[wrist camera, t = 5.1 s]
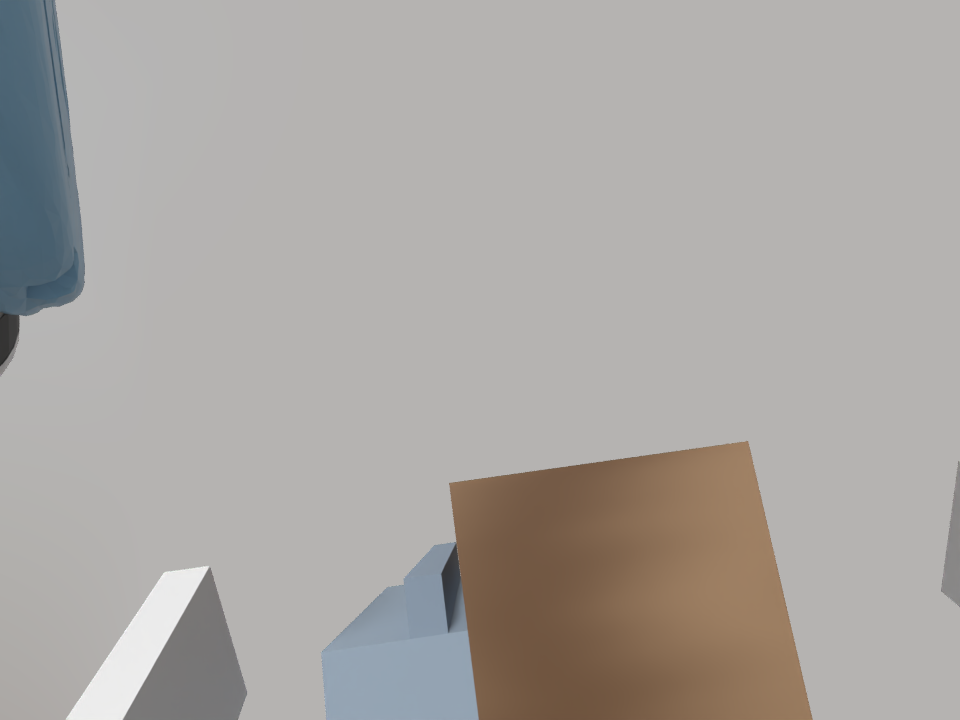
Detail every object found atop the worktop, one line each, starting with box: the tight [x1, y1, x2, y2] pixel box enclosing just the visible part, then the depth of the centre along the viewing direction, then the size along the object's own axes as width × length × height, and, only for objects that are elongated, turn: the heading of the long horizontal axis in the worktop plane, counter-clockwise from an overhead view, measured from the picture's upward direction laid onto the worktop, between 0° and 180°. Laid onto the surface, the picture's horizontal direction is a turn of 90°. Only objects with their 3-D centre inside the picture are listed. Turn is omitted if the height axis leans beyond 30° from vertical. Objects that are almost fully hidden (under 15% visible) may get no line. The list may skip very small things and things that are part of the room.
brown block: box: [449, 441, 812, 720], centre depth 18 cm, size 4×24×4 cm, turn 0°
